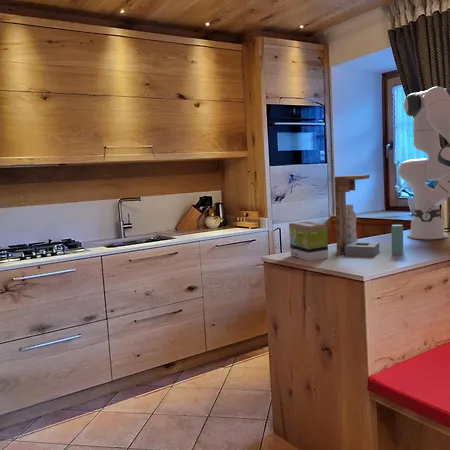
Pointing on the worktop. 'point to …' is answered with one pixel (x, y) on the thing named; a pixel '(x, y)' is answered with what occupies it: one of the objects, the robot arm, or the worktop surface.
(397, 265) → the worktop surface
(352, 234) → the plastic bottle
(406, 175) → the robot arm
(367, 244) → the socket block
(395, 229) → the peg
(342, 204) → the wooden post stand
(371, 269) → the worktop surface
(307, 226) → the tea box
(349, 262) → the worktop surface
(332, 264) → the worktop surface
